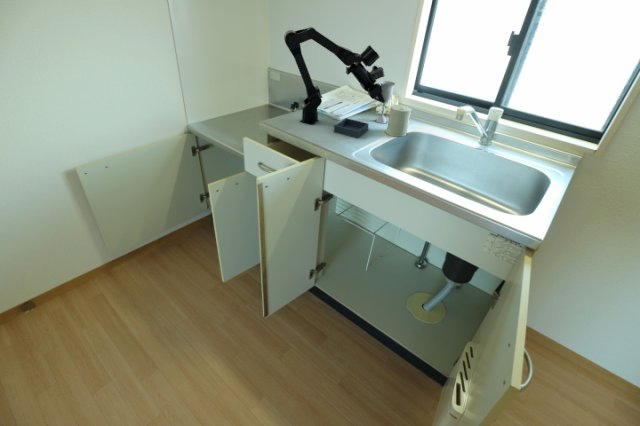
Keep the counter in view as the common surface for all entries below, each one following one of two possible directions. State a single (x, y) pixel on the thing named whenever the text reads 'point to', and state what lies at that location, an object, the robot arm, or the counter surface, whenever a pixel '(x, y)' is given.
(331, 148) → the counter surface
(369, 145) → the counter surface
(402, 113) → the can
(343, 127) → the bin
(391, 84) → the chalice
